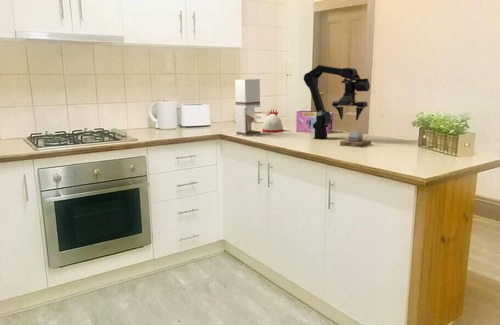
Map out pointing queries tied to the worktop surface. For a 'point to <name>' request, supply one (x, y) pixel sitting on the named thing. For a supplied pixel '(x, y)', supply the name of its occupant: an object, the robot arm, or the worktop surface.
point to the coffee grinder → (246, 105)
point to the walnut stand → (355, 143)
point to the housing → (355, 136)
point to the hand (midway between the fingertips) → (349, 119)
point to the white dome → (272, 123)
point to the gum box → (309, 121)
